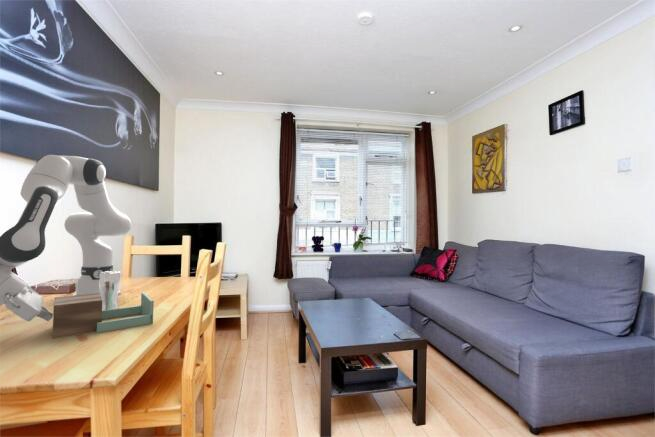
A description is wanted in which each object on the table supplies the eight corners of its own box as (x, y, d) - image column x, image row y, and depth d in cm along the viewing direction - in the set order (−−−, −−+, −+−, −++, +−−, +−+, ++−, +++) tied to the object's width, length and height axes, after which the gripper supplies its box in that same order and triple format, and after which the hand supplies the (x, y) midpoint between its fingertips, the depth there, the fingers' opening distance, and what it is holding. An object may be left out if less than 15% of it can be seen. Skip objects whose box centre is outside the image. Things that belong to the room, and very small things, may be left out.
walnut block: (53, 327, 103) (54, 297, 103) (98, 320, 111) (99, 293, 111) (52, 338, 94) (53, 305, 94) (101, 330, 102) (102, 300, 102)
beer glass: (108, 312, 120) (109, 274, 120) (93, 311, 122) (95, 273, 122) (123, 307, 127) (124, 271, 127) (109, 306, 128) (110, 270, 129)
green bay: (92, 320, 111) (93, 297, 111) (143, 312, 122) (144, 292, 122) (96, 332, 99) (97, 307, 99) (152, 323, 110) (153, 300, 110)
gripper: (15, 289, 85) (60, 318, 92) (22, 277, 101) (60, 303, 107) (-10, 307, 82) (39, 336, 89) (1, 292, 98) (42, 318, 104)
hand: (50, 318), depth 98 cm, fingers closed
